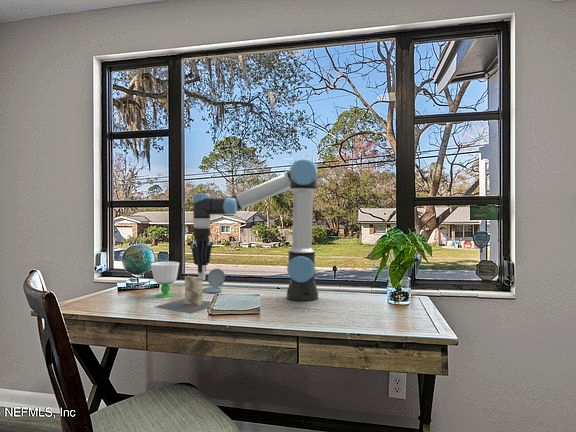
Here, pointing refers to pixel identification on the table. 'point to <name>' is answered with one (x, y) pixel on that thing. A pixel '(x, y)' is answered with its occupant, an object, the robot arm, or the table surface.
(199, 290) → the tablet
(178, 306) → the mat
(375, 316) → the table surface
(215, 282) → the grey upright round piece
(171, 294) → the cup
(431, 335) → the table surface
